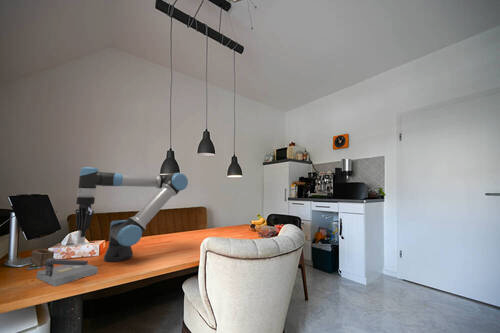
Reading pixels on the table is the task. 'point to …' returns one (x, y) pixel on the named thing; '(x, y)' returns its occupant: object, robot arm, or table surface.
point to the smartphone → (34, 267)
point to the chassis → (65, 273)
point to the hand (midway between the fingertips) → (80, 243)
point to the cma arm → (65, 262)
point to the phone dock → (41, 257)
